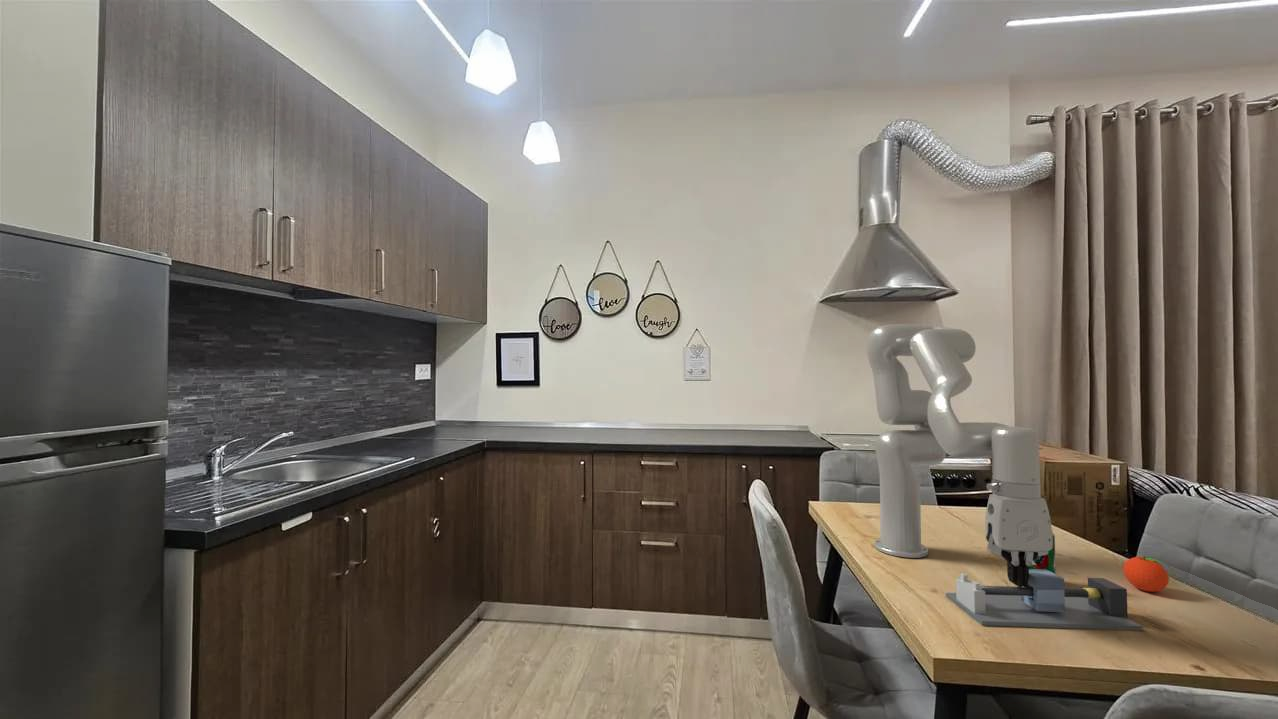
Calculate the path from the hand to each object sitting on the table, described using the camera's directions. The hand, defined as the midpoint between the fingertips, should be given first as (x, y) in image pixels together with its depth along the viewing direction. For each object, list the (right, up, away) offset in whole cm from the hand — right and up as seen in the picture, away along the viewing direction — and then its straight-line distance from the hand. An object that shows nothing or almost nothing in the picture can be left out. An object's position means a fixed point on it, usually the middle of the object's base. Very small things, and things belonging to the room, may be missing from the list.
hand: (1018, 583), depth 97 cm
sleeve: (+4, -4, 0) cm, 6 cm away
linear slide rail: (+4, -5, 0) cm, 7 cm away
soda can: (+16, -6, +14) cm, 22 cm away
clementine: (+36, -6, +10) cm, 37 cm away
